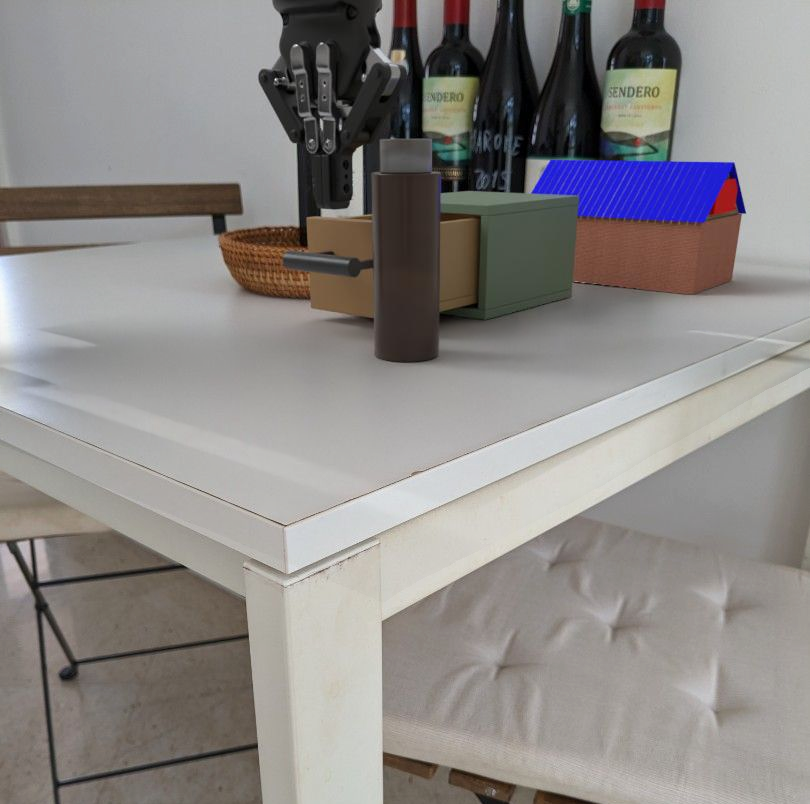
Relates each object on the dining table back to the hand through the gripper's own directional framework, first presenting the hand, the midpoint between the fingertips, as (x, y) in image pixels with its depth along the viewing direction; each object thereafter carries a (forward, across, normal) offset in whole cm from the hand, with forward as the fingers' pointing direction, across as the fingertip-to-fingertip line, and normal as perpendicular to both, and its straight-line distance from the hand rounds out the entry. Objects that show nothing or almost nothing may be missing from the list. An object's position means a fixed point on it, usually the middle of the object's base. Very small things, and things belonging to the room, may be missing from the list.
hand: (333, 208), depth 64 cm
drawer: (+8, 0, +7) cm, 11 cm away
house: (+9, +6, +40) cm, 41 cm away
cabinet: (+9, 0, +18) cm, 21 cm away
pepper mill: (+9, +9, -3) cm, 13 cm away
